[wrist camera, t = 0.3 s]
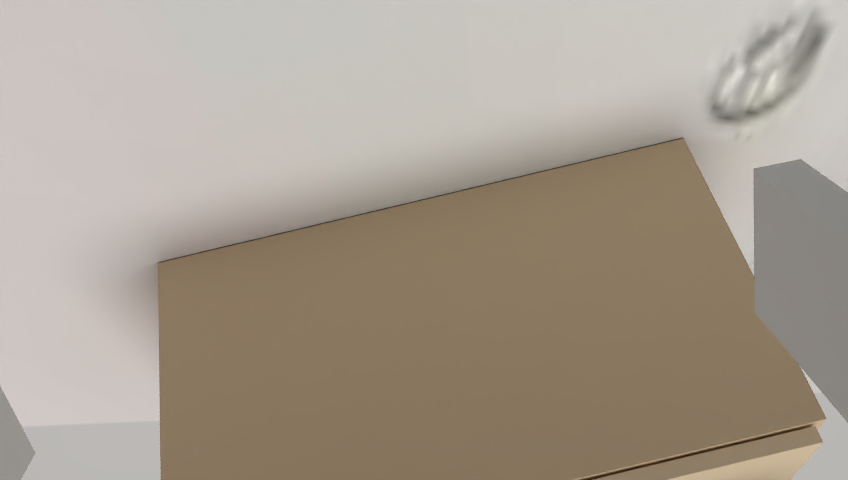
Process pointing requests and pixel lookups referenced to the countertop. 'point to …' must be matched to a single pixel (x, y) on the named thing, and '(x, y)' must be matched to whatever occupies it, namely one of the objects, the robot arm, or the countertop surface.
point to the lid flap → (737, 461)
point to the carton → (478, 337)
